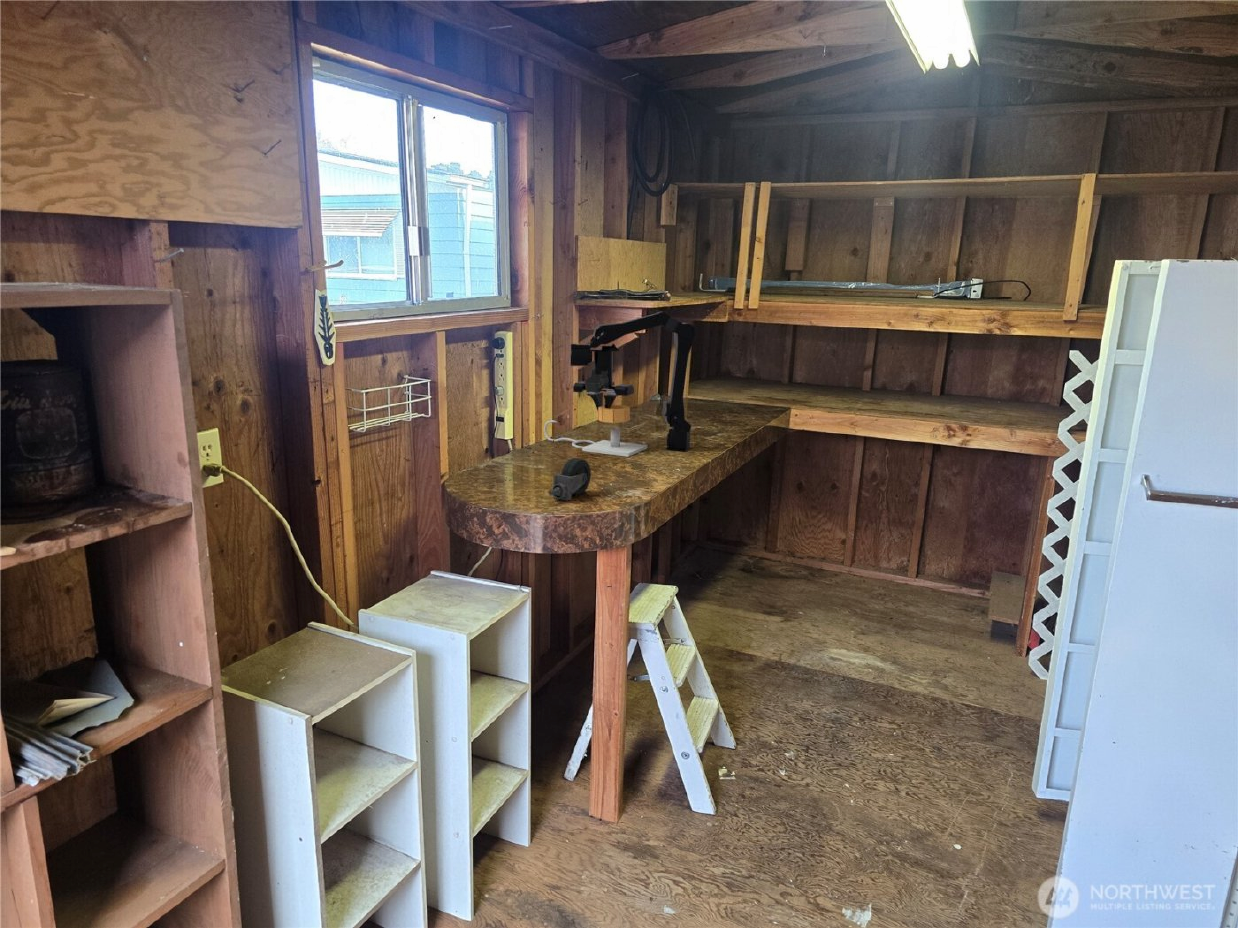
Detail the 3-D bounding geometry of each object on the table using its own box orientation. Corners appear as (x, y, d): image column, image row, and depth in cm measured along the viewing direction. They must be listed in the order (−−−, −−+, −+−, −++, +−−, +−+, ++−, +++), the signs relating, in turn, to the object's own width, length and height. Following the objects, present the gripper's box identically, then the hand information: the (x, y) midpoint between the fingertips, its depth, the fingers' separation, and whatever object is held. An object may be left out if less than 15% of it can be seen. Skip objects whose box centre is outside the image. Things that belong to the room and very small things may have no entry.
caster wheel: (576, 492, 198) (540, 500, 185) (578, 455, 196) (542, 460, 183) (594, 496, 195) (559, 504, 182) (596, 458, 193) (561, 463, 181)
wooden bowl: (633, 418, 242) (633, 406, 241) (621, 423, 234) (621, 410, 233) (607, 416, 246) (607, 404, 245) (594, 421, 238) (594, 408, 237)
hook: (551, 436, 263) (599, 452, 253) (533, 440, 255) (582, 457, 245) (554, 415, 260) (602, 431, 251) (536, 419, 253) (585, 435, 243)
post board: (647, 448, 247) (647, 428, 245) (628, 456, 234) (628, 435, 233) (603, 442, 254) (603, 423, 252) (582, 450, 241) (582, 430, 240)
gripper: (564, 366, 235) (564, 417, 238) (619, 370, 227) (619, 422, 230) (581, 363, 244) (581, 412, 248) (635, 366, 237) (634, 416, 240)
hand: (603, 415), depth 241 cm, fingers closed on wooden bowl, 2 cm apart
